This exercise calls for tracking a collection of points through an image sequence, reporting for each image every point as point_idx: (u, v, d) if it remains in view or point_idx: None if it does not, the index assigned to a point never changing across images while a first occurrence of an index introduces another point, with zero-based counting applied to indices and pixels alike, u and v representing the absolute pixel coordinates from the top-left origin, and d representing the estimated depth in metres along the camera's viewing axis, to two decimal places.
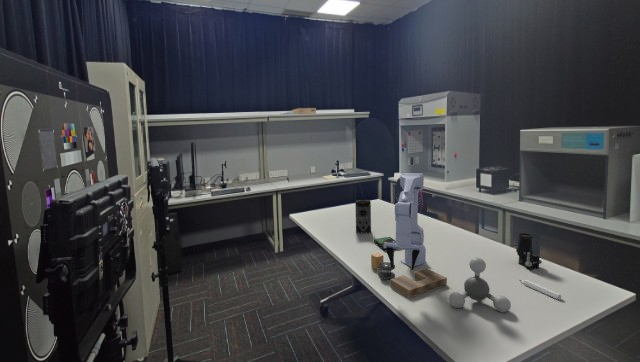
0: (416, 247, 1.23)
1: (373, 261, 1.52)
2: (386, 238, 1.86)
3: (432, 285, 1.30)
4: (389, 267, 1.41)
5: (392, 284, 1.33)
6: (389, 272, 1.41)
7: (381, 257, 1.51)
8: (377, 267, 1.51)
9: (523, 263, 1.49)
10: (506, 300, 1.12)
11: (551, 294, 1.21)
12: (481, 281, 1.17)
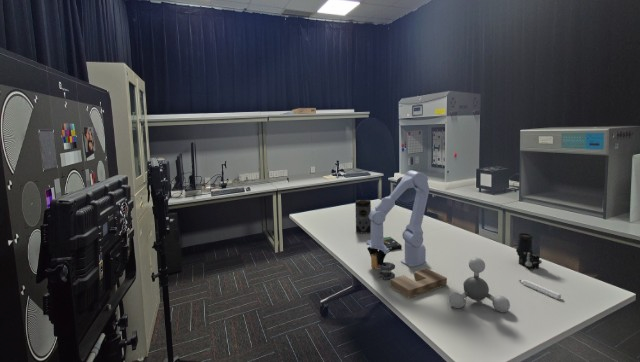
0: (381, 249, 1.47)
1: (373, 261, 1.52)
2: (386, 238, 1.86)
3: (432, 285, 1.30)
4: (389, 267, 1.41)
5: (392, 284, 1.33)
6: (389, 272, 1.41)
7: None
8: (377, 267, 1.51)
9: (523, 263, 1.49)
10: (505, 300, 1.12)
11: (551, 294, 1.21)
12: (480, 281, 1.17)
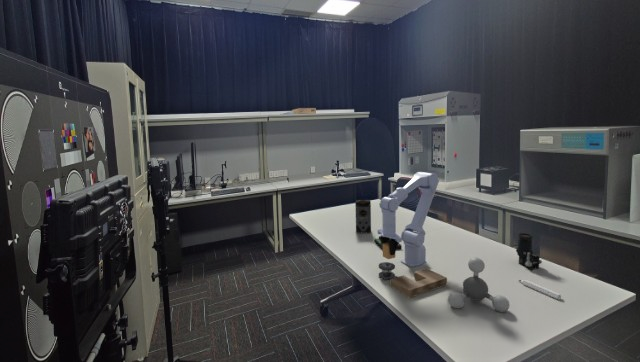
0: (394, 237, 1.41)
1: (385, 251, 1.47)
2: None
3: (432, 285, 1.30)
4: (389, 267, 1.41)
5: (392, 284, 1.33)
6: (389, 272, 1.41)
7: None
8: (389, 257, 1.45)
9: (523, 263, 1.49)
10: (505, 300, 1.12)
11: (551, 294, 1.21)
12: (480, 281, 1.17)
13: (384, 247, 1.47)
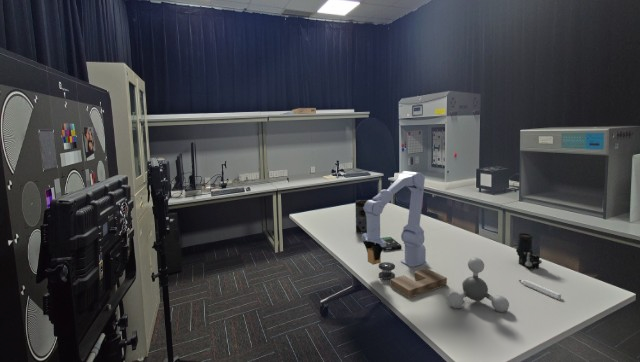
0: (378, 242, 1.36)
1: (369, 256, 1.42)
2: (386, 238, 1.86)
3: (432, 285, 1.30)
4: (389, 267, 1.41)
5: (392, 284, 1.33)
6: (389, 272, 1.41)
7: None
8: (374, 262, 1.41)
9: (523, 263, 1.49)
10: (505, 300, 1.12)
11: (551, 294, 1.21)
12: (480, 281, 1.17)
13: (369, 252, 1.42)
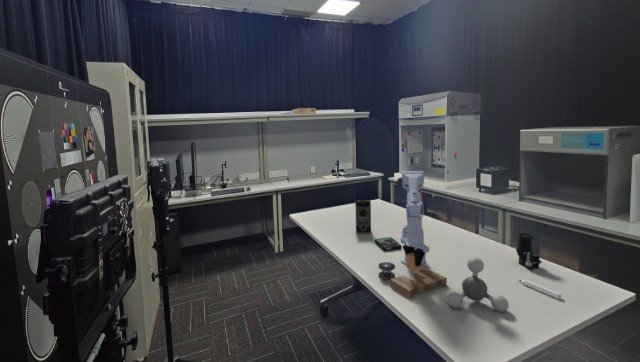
0: (421, 247, 1.29)
1: (409, 262, 1.34)
2: (387, 238, 1.86)
3: (432, 285, 1.30)
4: (389, 267, 1.41)
5: (392, 284, 1.33)
6: (389, 272, 1.41)
7: None
8: (414, 269, 1.33)
9: (523, 263, 1.49)
10: (504, 300, 1.12)
11: (551, 294, 1.21)
12: (479, 281, 1.17)
13: (409, 258, 1.34)
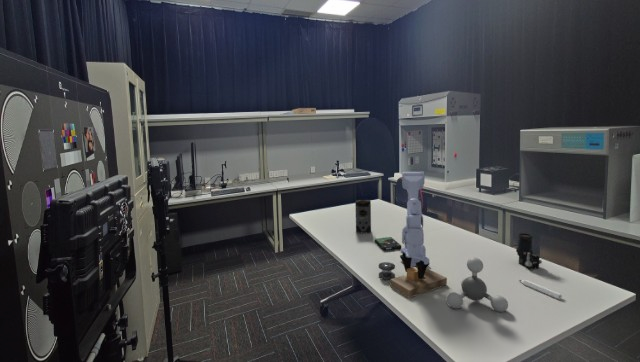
0: (421, 259, 1.29)
1: (409, 277, 1.35)
2: (387, 238, 1.86)
3: (432, 285, 1.30)
4: (389, 267, 1.41)
5: (392, 284, 1.33)
6: (389, 272, 1.41)
7: None
8: None
9: (523, 263, 1.49)
10: (504, 300, 1.12)
11: (552, 294, 1.21)
12: (479, 281, 1.17)
13: (409, 273, 1.35)
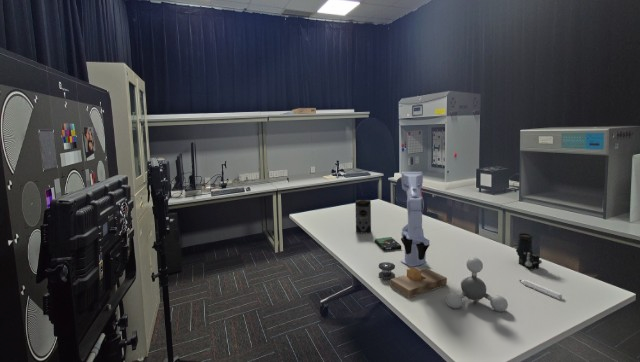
0: (421, 240, 1.34)
1: (409, 277, 1.35)
2: (387, 238, 1.86)
3: (432, 285, 1.30)
4: (389, 267, 1.41)
5: (392, 284, 1.33)
6: (389, 272, 1.41)
7: (418, 272, 1.34)
8: None
9: (523, 263, 1.49)
10: (503, 300, 1.12)
11: (552, 294, 1.21)
12: (478, 281, 1.17)
13: (409, 273, 1.35)
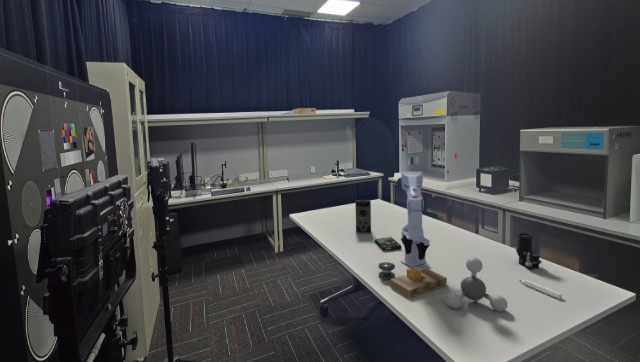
0: (421, 240, 1.34)
1: (409, 277, 1.35)
2: (387, 238, 1.86)
3: (432, 285, 1.30)
4: (389, 267, 1.41)
5: (392, 284, 1.33)
6: (389, 272, 1.41)
7: (418, 272, 1.34)
8: None
9: (523, 263, 1.49)
10: (503, 299, 1.12)
11: (552, 294, 1.21)
12: (478, 281, 1.17)
13: (409, 273, 1.35)
